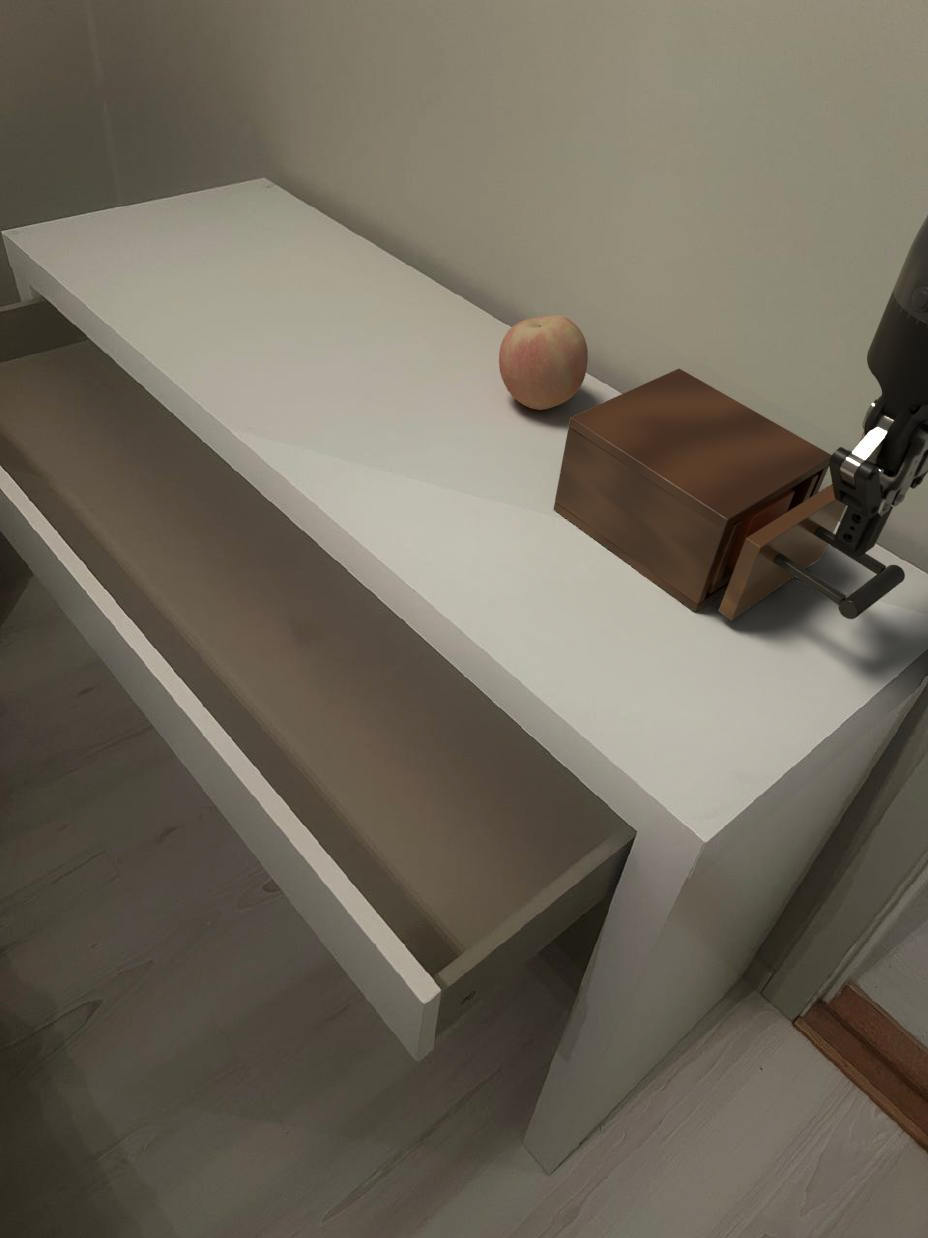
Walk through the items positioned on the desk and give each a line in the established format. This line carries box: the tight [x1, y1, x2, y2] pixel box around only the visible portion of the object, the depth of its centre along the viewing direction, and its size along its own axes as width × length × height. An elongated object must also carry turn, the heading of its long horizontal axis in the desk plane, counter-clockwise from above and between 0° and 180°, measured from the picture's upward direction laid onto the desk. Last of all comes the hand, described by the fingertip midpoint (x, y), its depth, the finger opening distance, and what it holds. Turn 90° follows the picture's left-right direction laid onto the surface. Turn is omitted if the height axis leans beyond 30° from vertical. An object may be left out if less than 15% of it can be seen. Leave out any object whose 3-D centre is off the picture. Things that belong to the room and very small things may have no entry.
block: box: [726, 489, 795, 570], centre depth 68 cm, size 5×5×5 cm
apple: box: [498, 314, 589, 411], centre depth 83 cm, size 8×8×8 cm
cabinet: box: [553, 368, 832, 613], centre depth 71 cm, size 15×13×9 cm
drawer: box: [708, 473, 906, 621], centre depth 68 cm, size 20×11×7 cm, turn 41°
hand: (852, 546), depth 62 cm, fingers closed
